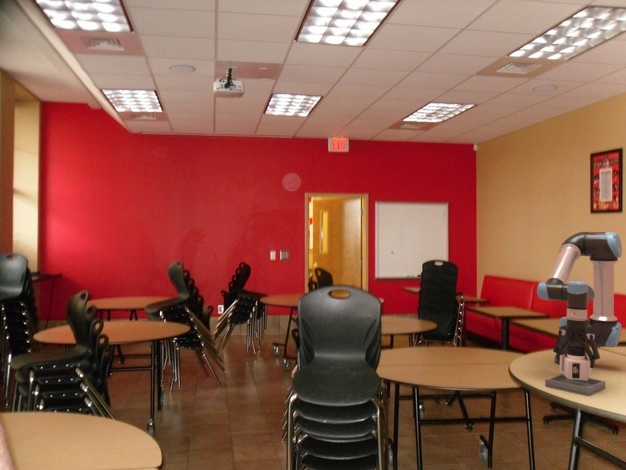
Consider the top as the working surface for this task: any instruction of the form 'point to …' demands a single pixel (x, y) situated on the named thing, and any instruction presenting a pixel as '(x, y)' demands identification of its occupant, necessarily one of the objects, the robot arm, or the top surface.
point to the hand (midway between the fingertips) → (575, 373)
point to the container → (575, 363)
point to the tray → (575, 385)
